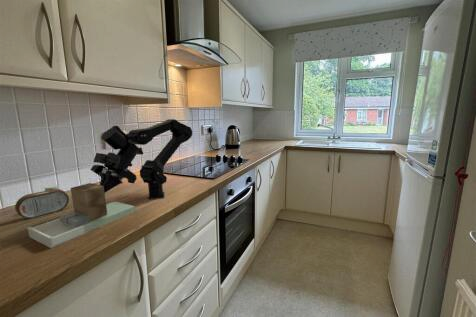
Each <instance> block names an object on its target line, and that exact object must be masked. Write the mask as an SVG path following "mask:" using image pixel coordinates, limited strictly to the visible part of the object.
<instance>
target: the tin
mask: <svg viewBox="0 0 476 317" xmlns="http://www.w3.org/2000/svg"><path fill="white" fill-rule="evenodd" d="M69 201H70V198H69V195H68V194H67V193H66V191H64V190H63V189H60V188H58V189H52V190H47V191H45V190H43V191H37V192H33V193H27V194H24V195H23V196H21V197H20V198H18V200H16V203H15V205H14V208H15V212H16V213H17V214H18V215H19V216H20V217H22V218H24V219H34V218H38V217H42V216H46V215H50V214H54V213H58V212H60V211H63V209H65V208H66V207H67V206H68V204H69Z"/></svg>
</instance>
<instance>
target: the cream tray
mask: <svg viewBox="0 0 476 317" xmlns="http://www.w3.org/2000/svg"><path fill="white" fill-rule="evenodd" d="M27 232H28V237H29V238H30V239H33V240H34V241H36V242H38V243H40V244H42V245H44V246H46V247H48V248H50V249H53V248H54V247H57V246H59V245H62V244H64V243H67V242H69V241H71V240H74V239H76V238H78V237H80V236H83V235H85V234H86V233H84V226H80V227H78V228H75V229H73V228H71V227H68V226H66V225H63V222H61V219H60V217H59V218H56V219H53V220H51V221H48V222H44V223H41V224H39V225H35V226H32V227H31V226H28V227H27Z"/></svg>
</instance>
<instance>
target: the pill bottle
mask: <svg viewBox="0 0 476 317" xmlns="http://www.w3.org/2000/svg"><path fill="white" fill-rule="evenodd" d="M52 189H59V186H58V185H57V184H52V185H46V186H45V187H44V191H47V190H52Z"/></svg>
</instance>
